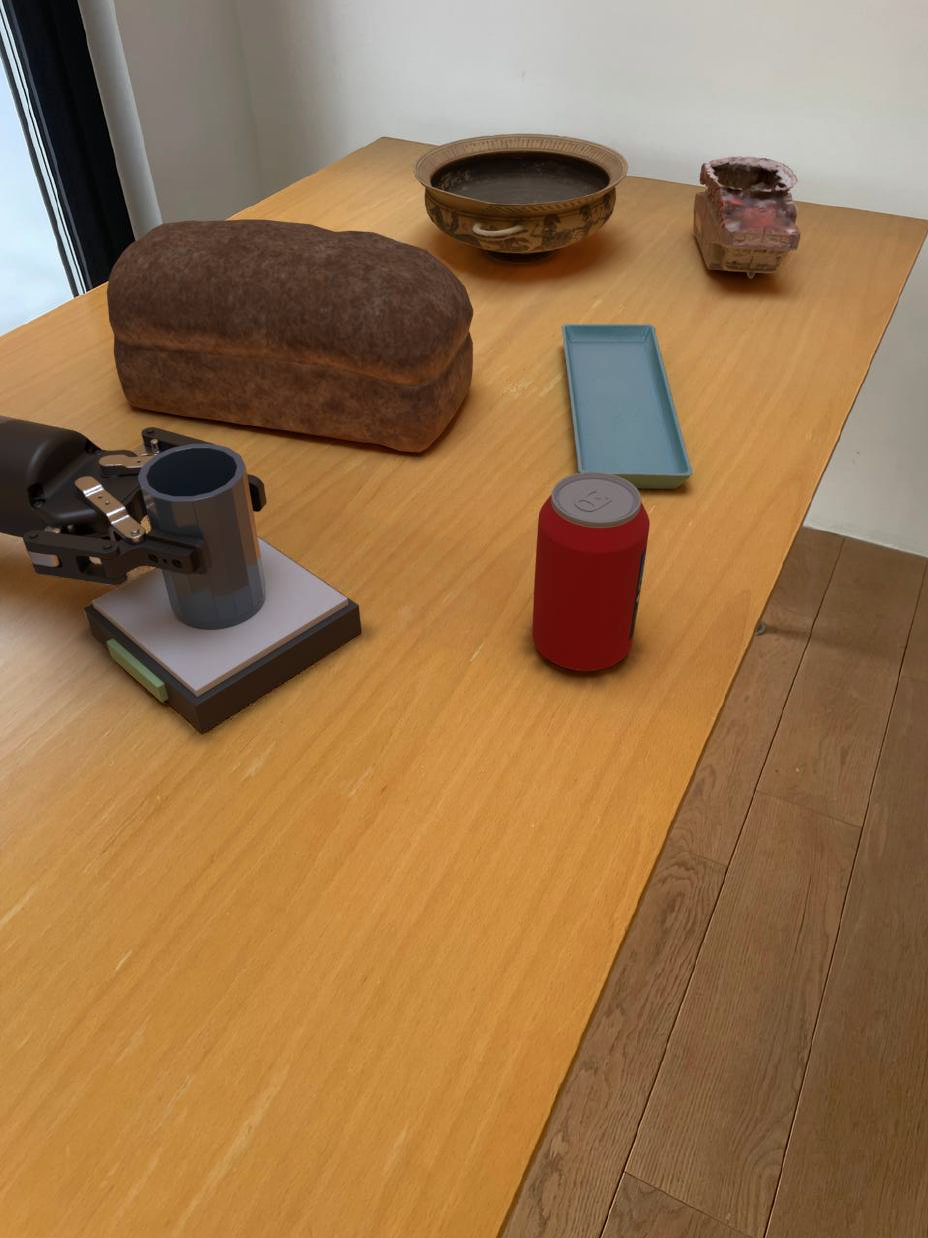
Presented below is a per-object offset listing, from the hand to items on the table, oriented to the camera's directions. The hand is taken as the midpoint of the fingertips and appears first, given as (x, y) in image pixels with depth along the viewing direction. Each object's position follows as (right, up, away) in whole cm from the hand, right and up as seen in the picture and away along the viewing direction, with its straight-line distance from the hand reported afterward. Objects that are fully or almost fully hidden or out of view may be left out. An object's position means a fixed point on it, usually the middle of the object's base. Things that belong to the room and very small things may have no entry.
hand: (235, 525), depth 62 cm
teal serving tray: (+28, +13, +29) cm, 42 cm away
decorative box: (+47, +35, +54) cm, 80 cm away
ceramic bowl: (+20, +38, +58) cm, 72 cm away
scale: (-2, -7, +7) cm, 10 cm away
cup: (-2, -4, +5) cm, 7 cm away
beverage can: (+22, -8, +6) cm, 24 cm away
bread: (-1, +15, +31) cm, 35 cm away
